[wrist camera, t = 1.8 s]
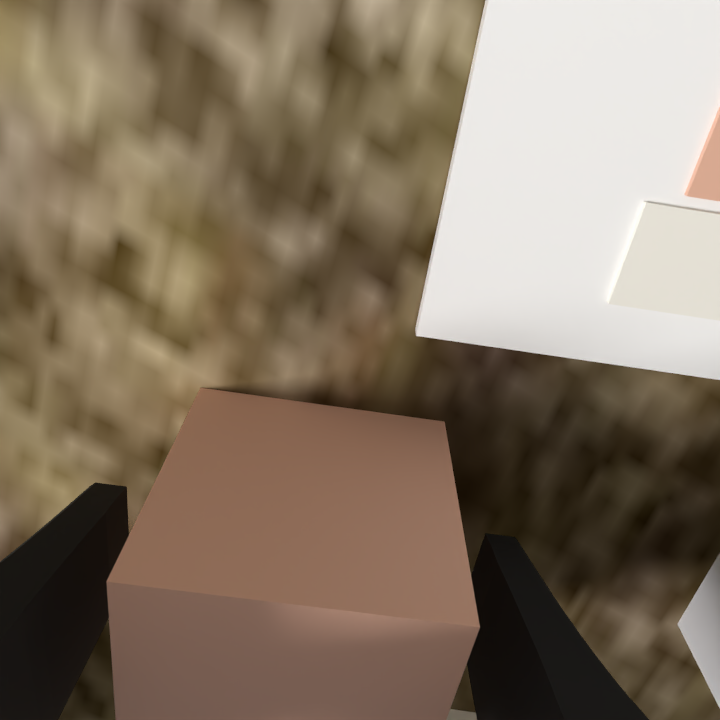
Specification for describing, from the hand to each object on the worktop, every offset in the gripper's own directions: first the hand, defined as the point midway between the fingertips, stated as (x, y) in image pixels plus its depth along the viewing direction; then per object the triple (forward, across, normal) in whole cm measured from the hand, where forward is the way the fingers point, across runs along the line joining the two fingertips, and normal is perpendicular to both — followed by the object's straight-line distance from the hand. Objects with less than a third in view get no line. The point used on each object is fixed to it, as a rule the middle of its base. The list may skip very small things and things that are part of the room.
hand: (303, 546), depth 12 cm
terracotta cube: (+2, 0, 0) cm, 2 cm away
